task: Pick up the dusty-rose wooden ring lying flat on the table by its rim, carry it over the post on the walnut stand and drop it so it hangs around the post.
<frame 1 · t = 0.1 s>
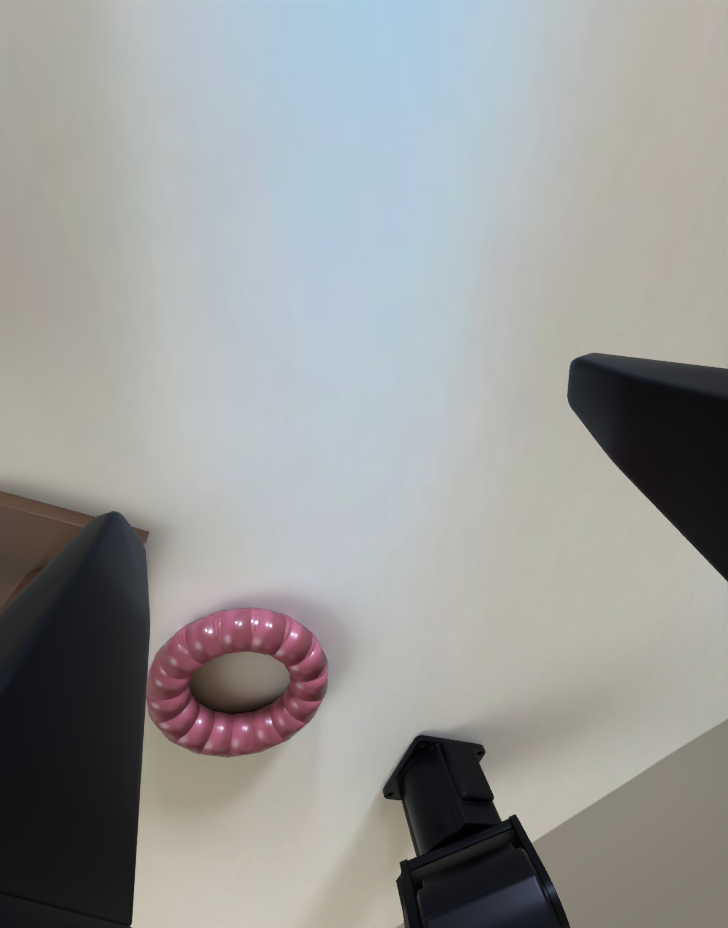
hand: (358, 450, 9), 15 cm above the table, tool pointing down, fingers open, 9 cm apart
ring: (240, 684, 28), point 1 cm above the table
stand: (49, 572, 24), on the table
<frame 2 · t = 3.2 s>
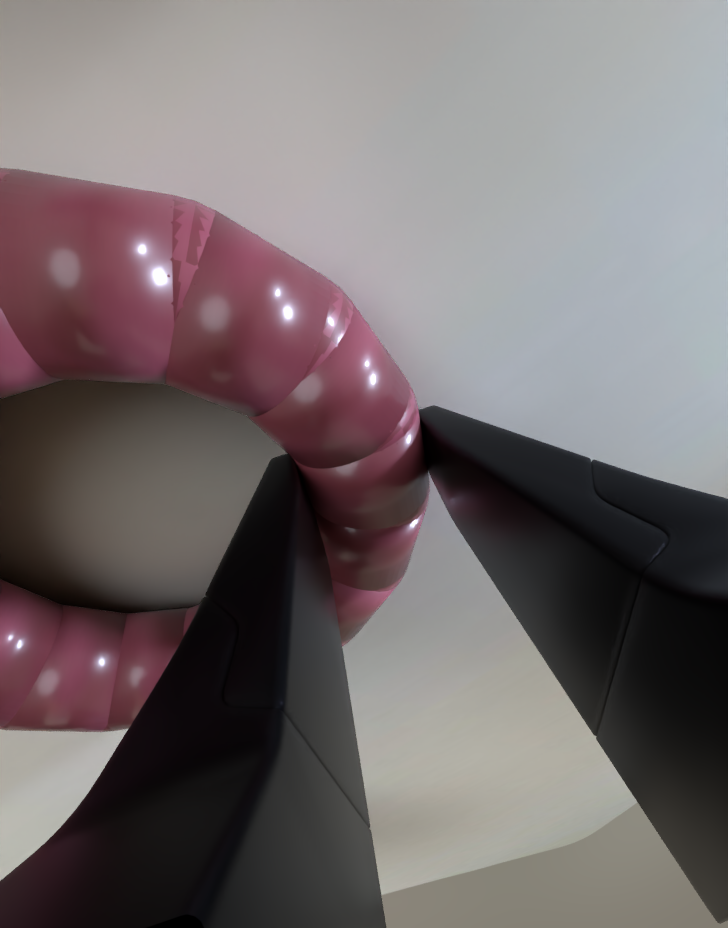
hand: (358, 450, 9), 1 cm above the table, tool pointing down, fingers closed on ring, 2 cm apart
ring: (141, 528, 8), point 1 cm above the table, touching gripper
when the fingers open (5 cm above the table, at t = 7.3 s): ring drops 3 cm, resting on stand.
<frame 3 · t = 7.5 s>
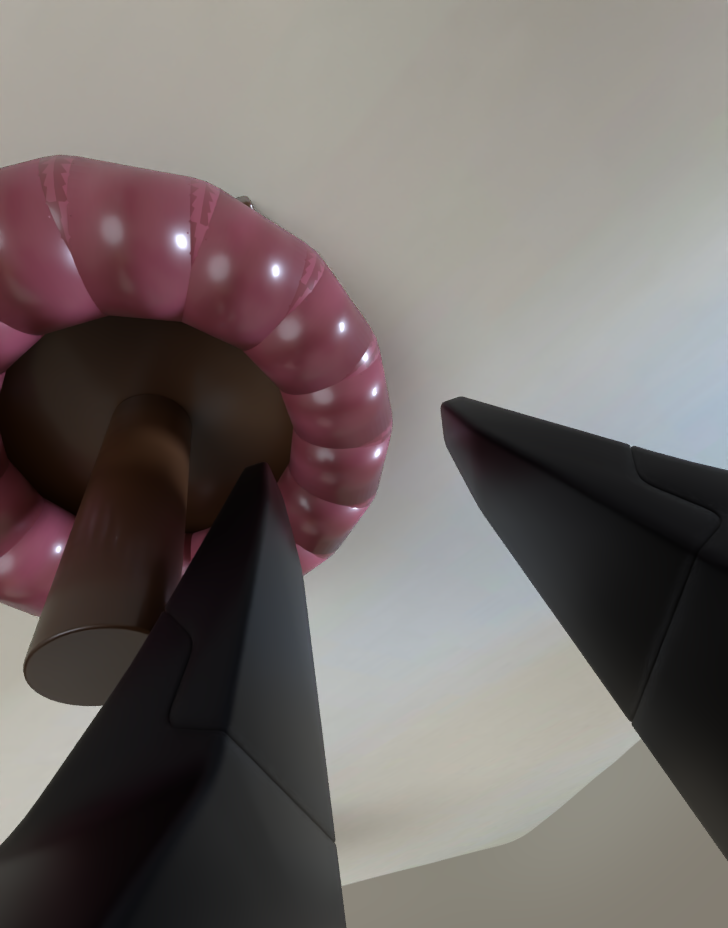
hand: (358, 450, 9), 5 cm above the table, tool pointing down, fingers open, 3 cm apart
ring: (158, 449, 10), point 2 cm above the table, touching stand
stand: (157, 404, 12), on the table
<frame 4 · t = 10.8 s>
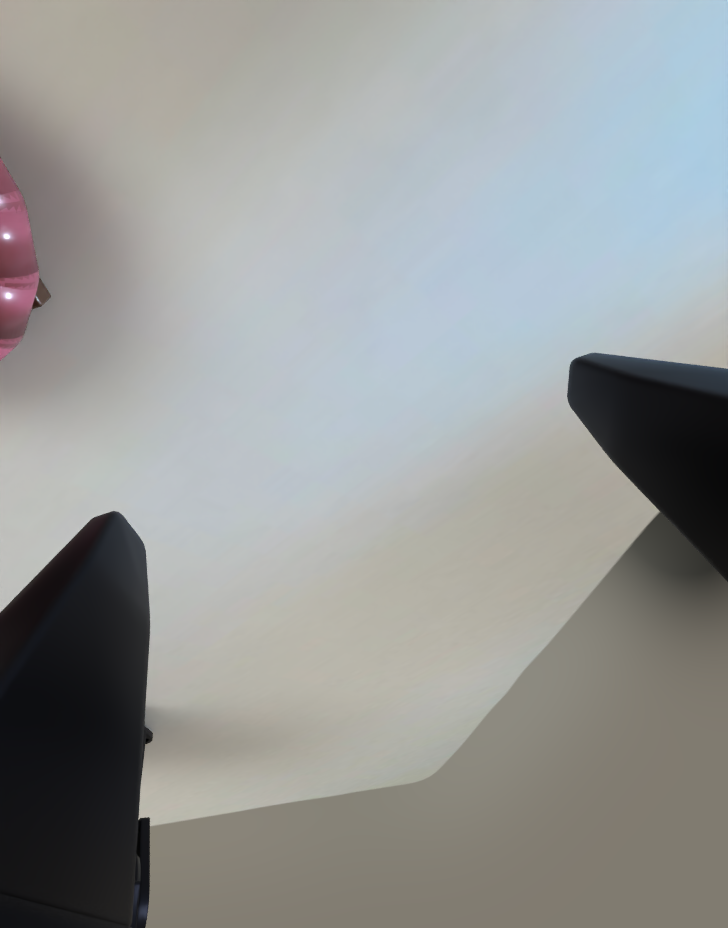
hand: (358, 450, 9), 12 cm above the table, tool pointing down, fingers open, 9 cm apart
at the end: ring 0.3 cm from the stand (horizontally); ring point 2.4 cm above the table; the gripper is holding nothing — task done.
